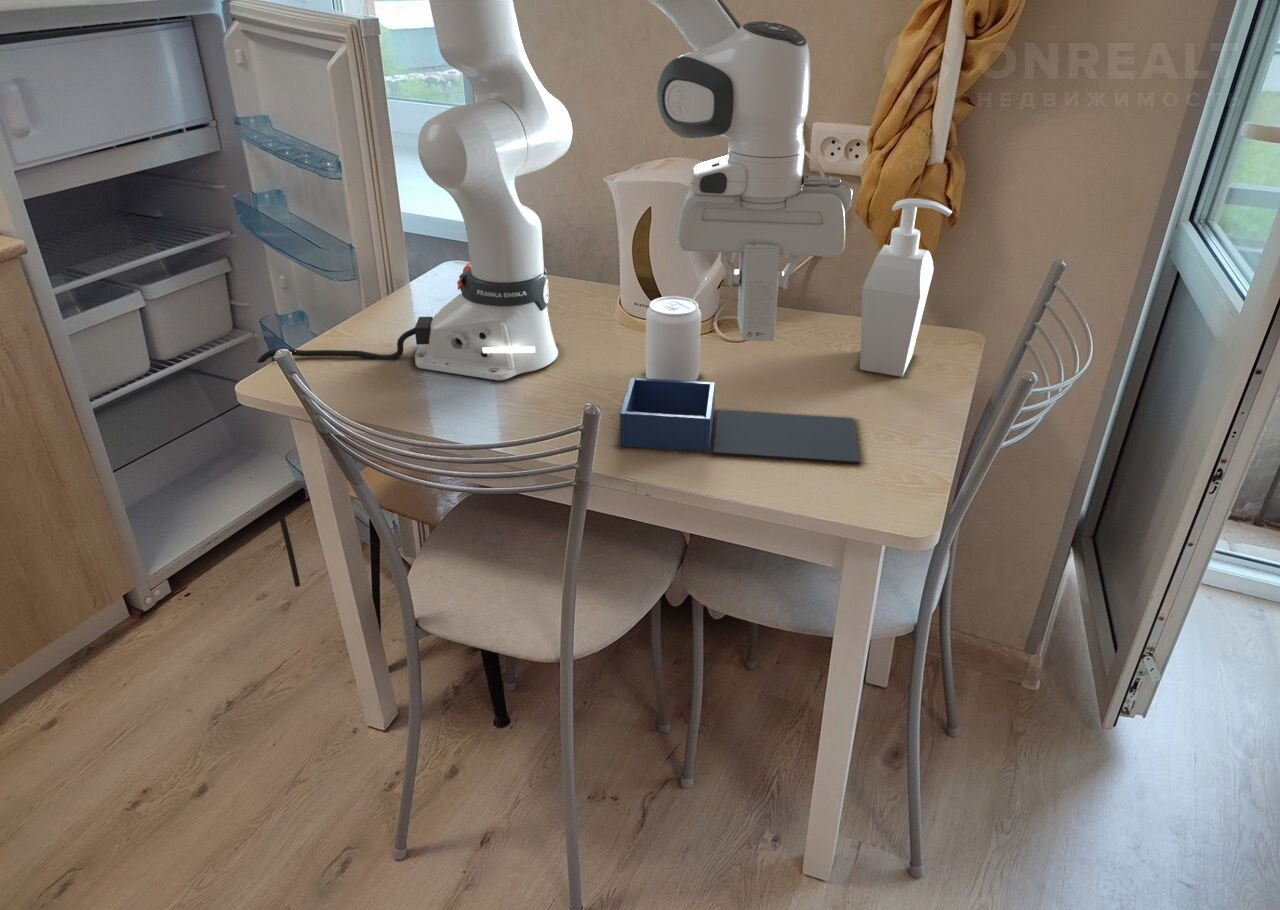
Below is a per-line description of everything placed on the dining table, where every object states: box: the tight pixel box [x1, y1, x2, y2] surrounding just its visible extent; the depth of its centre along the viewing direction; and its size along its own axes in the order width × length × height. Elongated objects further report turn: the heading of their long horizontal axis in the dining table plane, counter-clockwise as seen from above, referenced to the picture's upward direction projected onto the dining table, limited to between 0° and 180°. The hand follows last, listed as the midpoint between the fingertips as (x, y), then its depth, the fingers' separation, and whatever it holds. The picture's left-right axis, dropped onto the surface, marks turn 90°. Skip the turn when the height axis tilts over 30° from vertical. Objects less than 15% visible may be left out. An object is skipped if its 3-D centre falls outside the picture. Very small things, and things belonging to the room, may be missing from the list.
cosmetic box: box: [737, 244, 780, 342], centre depth 118 cm, size 6×4×12 cm
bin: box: [619, 377, 716, 453], centre depth 128 cm, size 12×11×5 cm
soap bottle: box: [859, 197, 953, 378], centre depth 142 cm, size 12×10×26 cm
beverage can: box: [645, 295, 702, 381], centre depth 140 cm, size 8×8×12 cm
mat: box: [712, 409, 860, 465], centre depth 128 cm, size 19×12×1 cm, turn 83°
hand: (757, 286), depth 118 cm, fingers closed on cosmetic box, 4 cm apart
